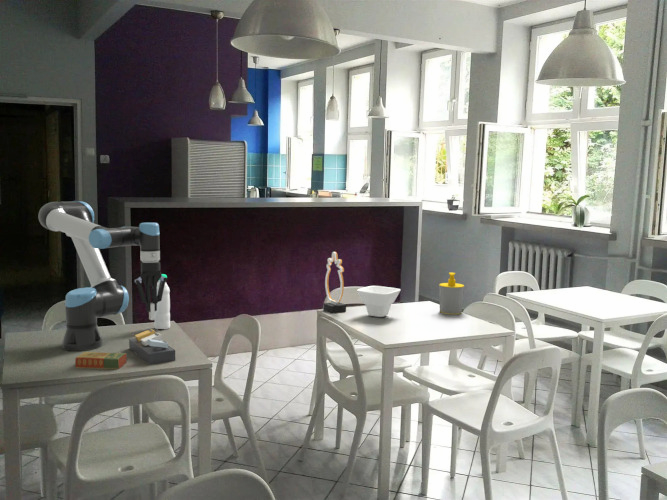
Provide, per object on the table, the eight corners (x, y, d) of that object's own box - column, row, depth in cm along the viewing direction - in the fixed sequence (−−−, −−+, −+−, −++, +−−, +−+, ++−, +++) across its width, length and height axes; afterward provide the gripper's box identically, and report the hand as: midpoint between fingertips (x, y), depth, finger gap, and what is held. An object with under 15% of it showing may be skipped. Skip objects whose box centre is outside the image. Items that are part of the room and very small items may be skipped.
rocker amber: (139, 341, 244) (137, 337, 244) (135, 339, 248) (134, 334, 247) (155, 334, 248) (154, 330, 247) (152, 332, 251) (151, 328, 251)
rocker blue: (150, 345, 232) (151, 340, 232) (146, 343, 235) (147, 338, 235) (167, 348, 236) (168, 343, 236) (164, 345, 239) (165, 340, 239)
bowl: (402, 315, 319) (403, 288, 318) (385, 322, 303) (386, 294, 301) (371, 310, 329) (371, 285, 327) (352, 317, 313) (353, 290, 311)
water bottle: (172, 326, 287) (171, 273, 284) (167, 330, 280) (166, 276, 277) (157, 326, 288) (157, 273, 285) (152, 329, 281) (151, 275, 278)
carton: (85, 362, 232) (84, 351, 231) (127, 363, 231) (127, 352, 231) (75, 368, 224) (74, 357, 223) (118, 370, 223) (118, 358, 223)
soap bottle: (437, 313, 324) (439, 274, 322) (438, 308, 337) (440, 270, 334) (462, 315, 321) (464, 275, 319) (463, 310, 334) (464, 271, 331)
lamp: (350, 313, 322) (351, 253, 319) (335, 314, 318) (336, 253, 314) (333, 307, 336) (334, 249, 333) (319, 308, 332) (320, 250, 328)
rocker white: (145, 345, 238) (143, 341, 238) (141, 343, 241) (140, 339, 241) (162, 338, 242) (160, 334, 241) (158, 336, 245) (157, 332, 245)
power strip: (149, 364, 229) (149, 351, 229) (123, 344, 256) (123, 332, 255) (175, 360, 235) (175, 347, 234) (147, 340, 262) (147, 329, 261)
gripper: (136, 263, 239) (138, 323, 241) (169, 261, 246) (170, 319, 249) (131, 261, 245) (132, 319, 247) (163, 259, 252) (164, 315, 255)
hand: (151, 319), depth 248 cm, fingers closed
